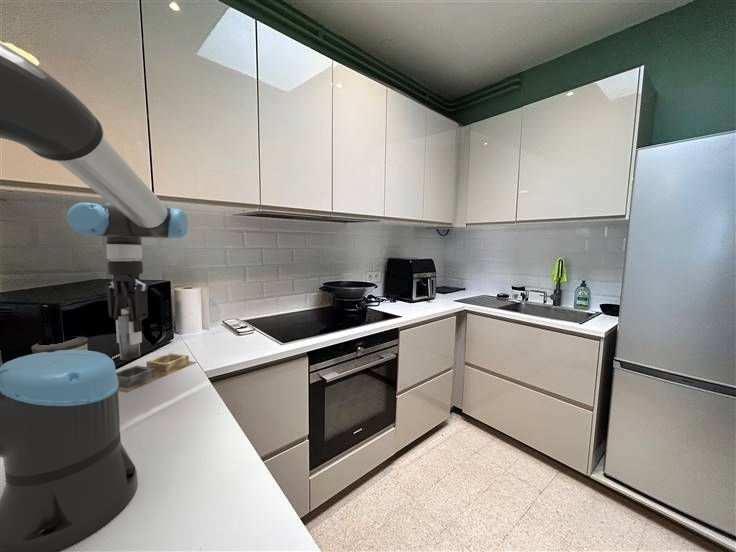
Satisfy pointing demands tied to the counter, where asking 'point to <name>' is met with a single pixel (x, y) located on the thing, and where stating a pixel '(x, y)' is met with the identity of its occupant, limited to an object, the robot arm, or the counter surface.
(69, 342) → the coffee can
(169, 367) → the tool stand
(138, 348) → the grey cylinder
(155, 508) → the counter surface
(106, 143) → the robot arm
